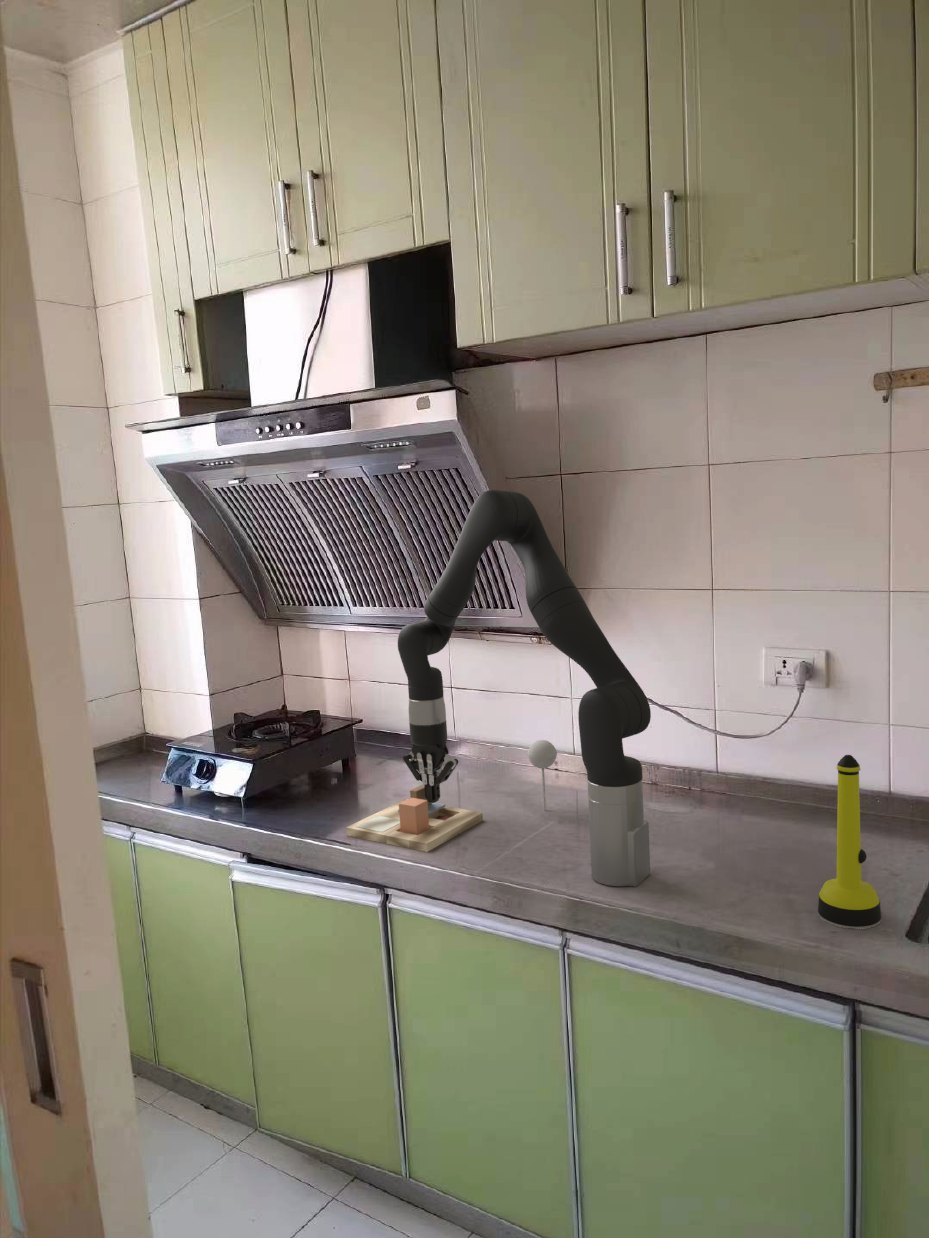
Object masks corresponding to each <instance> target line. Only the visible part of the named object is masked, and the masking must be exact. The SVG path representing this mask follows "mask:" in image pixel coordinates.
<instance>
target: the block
mask: <svg viewBox="0 0 929 1238" xmlns="http://www.w3.org/2000/svg"><path fill="white" fill-rule="evenodd" d="M406 799H407V800H405V801H403V802H401V803H399V815H400V830H401V832H403V833H408V834H413V835H419V834H421V833H423V832H425V831H426V830H428V829H429V817H428V802H427V800H423V799H417V798H411V797H410V798H406Z"/></svg>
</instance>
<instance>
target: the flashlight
mask: <svg viewBox="0 0 929 1238" xmlns="http://www.w3.org/2000/svg"><path fill="white" fill-rule="evenodd" d="M836 770H837V809H836V810H837V811H836V812H837V816H836V817H837V819H836V822H837V823H836V824H837V825H836V877H835V878H832V879H828V880H826V881H825V882H824V884H822V885H823V886H822V887H821V889H820V891H819V894H818V902H817V916H818V915H819V916H820V917H819V916H818V917H819V919H820V918H821V920H822V919H823V920H825V921H826V922H828V923H830V924H829V925H831V924H832V925H831V926H833V925H834V927H836V926H841V927H845V928H844V929H846V928H857V929H858V928H859V929H858V930H861V929H860V928H869V927H873V928H875V927H877V926H879V925H880V924H881V923H882V913H881V901H880V900H881V899H880V898H879V895H878V893H877V891H876V890H875V888H874V886H873V885H871V883H869V882H867V881H865V880H862V864H863V863H865V862H866V861H867V857H868V856H867V853H866V851H865V850H864V849H862V846H861V843H862V842H861V841H862V839H861V837H862V836H861V810H860V809H861V807H860V806H861V803H860V802H861V801H860V800H861V799H860V797H861V796H860V771H861V766H860V763H859V762H858V760H857V759H856V758H855V757H854V756H852V754H845V755H844V756H843V757H841V758H840V759H839V761H838V763H837V765H836ZM823 920H822V921H823ZM825 921H824V922H825ZM826 922H825V923H826ZM880 922H881V923H880ZM828 923H827V924H828ZM878 924H879V925H878ZM874 926H875V927H874ZM857 929H856V930H857ZM869 929H870V928H869Z"/></svg>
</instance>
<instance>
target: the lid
mask: <svg viewBox="0 0 929 1238" xmlns="http://www.w3.org/2000/svg"><path fill="white" fill-rule="evenodd" d="M409 797H410V798H417V799H423V800H427V799H426V797H425V786H424V784H423V783H422V784H421V785H419V786H416V787H414V788H411V789H410V790H409ZM445 806H446V803H440V802H435V803H431V802H428V816H429V815H431V814H432V813H434V812H436V811H438V810H440V809H442V808H444V807H445ZM398 812H399V810H398Z"/></svg>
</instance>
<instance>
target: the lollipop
mask: <svg viewBox="0 0 929 1238" xmlns="http://www.w3.org/2000/svg"><path fill="white" fill-rule="evenodd" d="M557 755H558V751H557V749H556V747H555V745H554V744H553V743H552V742H551V741H548V740H545V739H538V740H535V741H534V742H533V743H531V744H530V746H529V747H528V750H527V757H528V761H530V763H531V765H533V767H536V768H537V769H541V778H542V779H541V780H542V797H543V798H542V799H543V801H542V803H543V811H547V801H546V785H545V784H546V783H545V782H546V781H545V780H546V779H545V769H547V768H550V767H551V766H552V765H553V764H554V763H555V761H556V759H557Z"/></svg>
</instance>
